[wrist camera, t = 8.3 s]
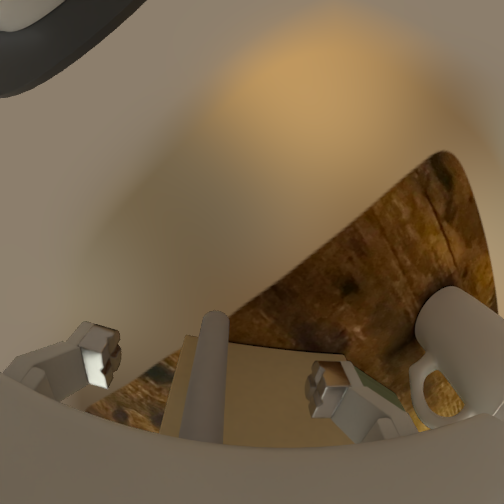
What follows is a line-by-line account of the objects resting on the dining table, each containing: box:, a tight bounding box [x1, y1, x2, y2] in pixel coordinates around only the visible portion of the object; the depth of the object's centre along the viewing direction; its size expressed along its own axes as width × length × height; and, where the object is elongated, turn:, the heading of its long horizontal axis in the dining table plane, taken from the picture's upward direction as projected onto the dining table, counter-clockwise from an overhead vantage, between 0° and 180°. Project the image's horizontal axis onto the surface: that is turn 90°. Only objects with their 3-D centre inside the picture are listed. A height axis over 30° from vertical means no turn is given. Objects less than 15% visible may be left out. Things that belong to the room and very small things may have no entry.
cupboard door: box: [159, 311, 355, 448], centre depth 13 cm, size 6×13×14 cm, turn 78°
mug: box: [409, 286, 504, 429], centre depth 15 cm, size 10×7×12 cm, turn 125°
